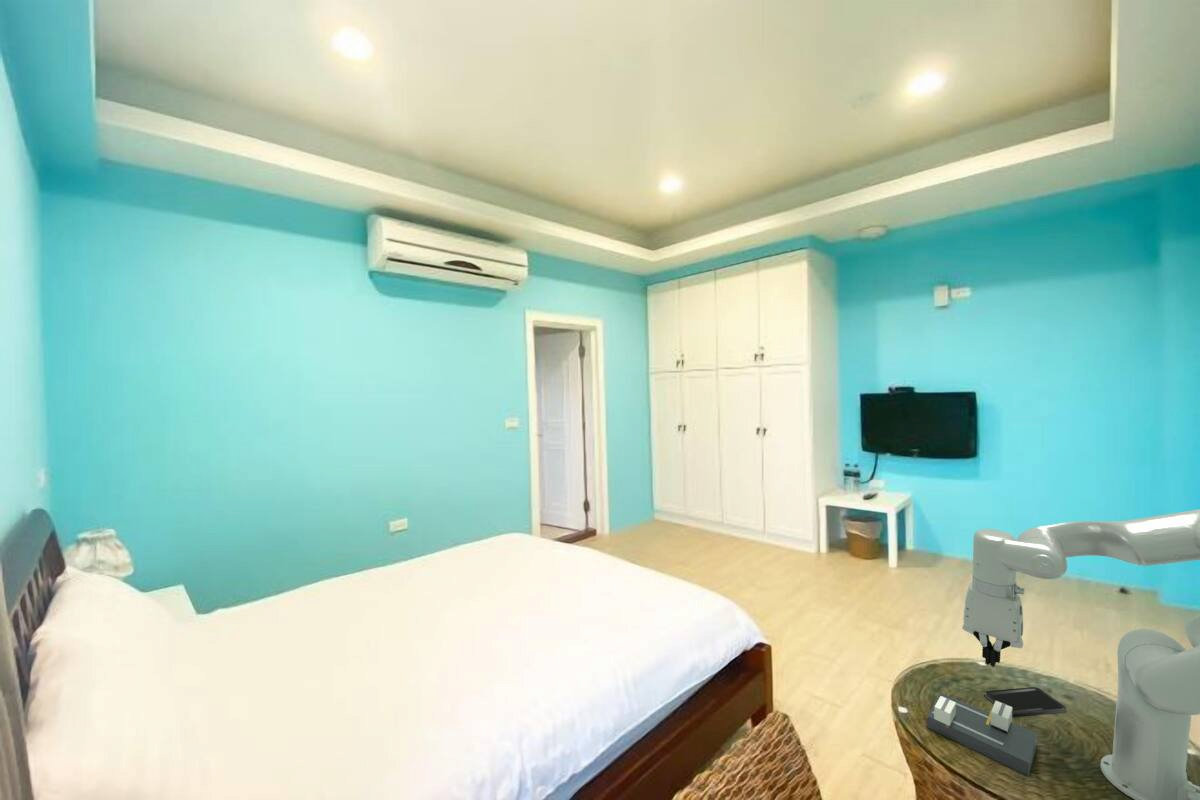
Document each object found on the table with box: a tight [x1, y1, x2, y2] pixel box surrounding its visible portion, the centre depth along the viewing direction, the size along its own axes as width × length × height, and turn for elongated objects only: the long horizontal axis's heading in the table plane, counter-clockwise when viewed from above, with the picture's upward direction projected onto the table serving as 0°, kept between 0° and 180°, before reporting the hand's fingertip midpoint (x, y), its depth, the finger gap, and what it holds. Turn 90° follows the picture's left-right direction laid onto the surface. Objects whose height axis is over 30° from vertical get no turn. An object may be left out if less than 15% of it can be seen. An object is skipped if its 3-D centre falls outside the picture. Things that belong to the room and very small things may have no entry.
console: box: [926, 691, 1038, 777], centre depth 110 cm, size 18×13×3 cm
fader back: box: [990, 701, 1013, 732], centre depth 110 cm, size 3×5×3 cm, turn 132°
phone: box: [983, 686, 1067, 718], centre depth 120 cm, size 8×1×15 cm
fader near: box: [934, 696, 956, 726], centre depth 112 cm, size 3×5×3 cm, turn 132°
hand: (991, 662), depth 110 cm, fingers closed
